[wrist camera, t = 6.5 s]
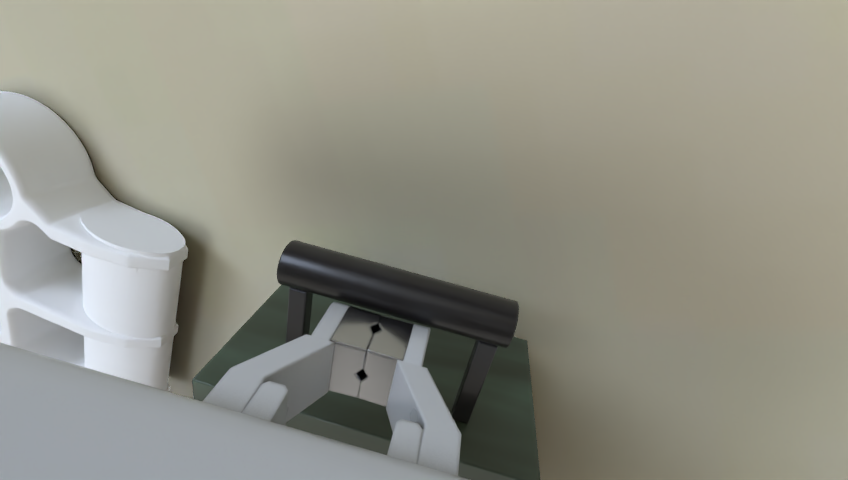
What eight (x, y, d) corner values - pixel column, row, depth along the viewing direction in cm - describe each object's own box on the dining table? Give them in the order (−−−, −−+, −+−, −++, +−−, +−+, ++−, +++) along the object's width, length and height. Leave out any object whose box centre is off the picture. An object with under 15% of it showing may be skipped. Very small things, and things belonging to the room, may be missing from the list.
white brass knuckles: (177, 414, 26) (-27, 325, 26) (212, 177, 18) (-85, 43, 18) (136, 460, 23) (-96, 360, 23) (156, 201, 15) (-203, 41, 15)
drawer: (297, 175, 16) (179, 247, 10) (567, 247, 16) (610, 369, 10) (277, 480, 26) (210, 609, 20) (444, 533, 25) (427, 683, 19)
